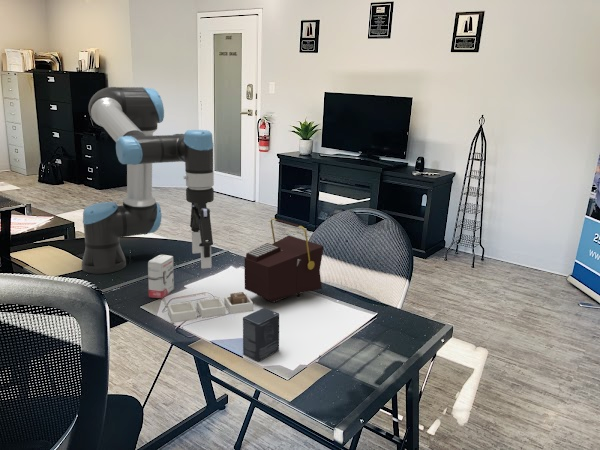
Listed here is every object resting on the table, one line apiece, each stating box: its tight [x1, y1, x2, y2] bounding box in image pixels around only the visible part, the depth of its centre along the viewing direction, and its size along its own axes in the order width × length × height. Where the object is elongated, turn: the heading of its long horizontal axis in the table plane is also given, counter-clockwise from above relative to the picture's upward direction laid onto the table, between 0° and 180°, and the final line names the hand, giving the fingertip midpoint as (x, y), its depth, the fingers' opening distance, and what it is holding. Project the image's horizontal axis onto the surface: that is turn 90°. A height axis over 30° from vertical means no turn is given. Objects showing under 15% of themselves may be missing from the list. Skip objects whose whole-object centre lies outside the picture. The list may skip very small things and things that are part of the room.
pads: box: [161, 297, 168, 308], centre depth 160 cm, size 7×24×1 cm, turn 113°
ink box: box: [147, 254, 175, 299], centre depth 160 cm, size 9×5×12 cm, turn 168°
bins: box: [167, 293, 254, 325], centre depth 149 cm, size 7×24×3 cm, turn 113°
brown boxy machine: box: [244, 218, 325, 304], centre depth 159 cm, size 16×23×25 cm
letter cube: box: [229, 291, 247, 305], centre depth 152 cm, size 4×4×4 cm
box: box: [242, 307, 280, 363], centre depth 126 cm, size 8×6×11 cm
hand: (201, 260), depth 143 cm, fingers open, 13 cm apart
